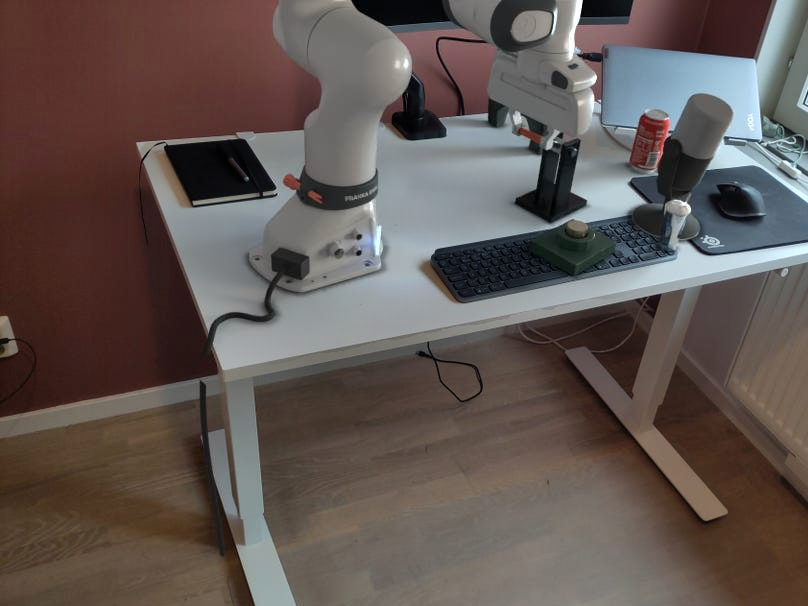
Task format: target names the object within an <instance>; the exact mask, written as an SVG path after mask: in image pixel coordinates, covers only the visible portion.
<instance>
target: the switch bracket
mask: <svg viewBox="0 0 808 606" xmlns="http://www.w3.org/2000/svg"><path fill="white" fill-rule="evenodd" d="M546 136H547V135H546ZM556 137H557V138H560V139H562V140H564V133H562V132H560V133H559V134H558V135H557V136H556ZM556 137H555V138H556ZM555 138H554V140H555ZM554 140H553V141H554ZM581 142H582V139H580V138H578V137H575V138H574V139H571V140H569V141H567V142H566V143H564V144H562V148H561V153H560V154H558V153H556V152H554V151H552V150H551V149H549V150H545V149H543V151H542V154H541V159H540V164H539V170H538V176H537V181H536V187H535V189H533V190H531V191H529V192H526V193H524V194H522V195H519V196H517V197H516V198H515V200H514V204H515V206H518V207H520V208H522V209H523V210H525V211H527V212H529V213H531V214H533V215H535V216H536V217H538V218H540V219H542V220H544V221H545V222H547V223H549V224H553V223H555V222H557V221H559V220H561V219H563V218H565V217H567V216H569V215H571V214H573V213H575V212H576V211H578V210H581V209H583V208H584V207H587V204H588V199H585V198H584V197H582V196H580V195H578V194H576V193H574V192H572V187H573V182H574V177H575V172H576V169H577V168H576V167H577V163H578V157H579V152H580V147H581Z"/></svg>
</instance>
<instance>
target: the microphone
mask: <svg viewBox="0 0 808 606" xmlns="http://www.w3.org/2000/svg"><path fill="white" fill-rule="evenodd" d="M734 119H735V111H734V109H733V108H732V107H731V106H730V104H729V103H728V102H726V100H723V99H722V98H720V97H719V96H715V95H713V94H709V93H704V92H699V93H694V94H692V95H690V97H688V99H687V101H686V104H685V106H684V108H683V110H682V111H681V114H680V116H679V118H678V120H677V122H676V124H675V127H674V129H673V130H672V133H671V134H670V135H669V136H667V138H666V140H665V141H664V147H663V153H662V156H661V158H660V160H659V162H658V166H657V169H656V173H657V178H656V181H655V182H656V188H657V193H658V194H659V195H660V196H663V197H664V202H663V203H658V202H657V203H656V202H653V203H652V202H651V203H645V204H641V205H639V206H637V207H635V208H634V209H633V211H632V214H631V220H632V222H633V224H634V225H635V226H636V228H638V229H639V230H640V231H642V232H643V233H645V234H647V235H649V236H651V237H654V238H657V239H659V236H660V231H661V226H662V221H663V215H664V209H665V204H666V203H667V202H669V201H671V200H680V201H681V199H682V198H685V197H688V195H689V193H690V194H691V193H692V191H693V189H694V188H696V187H697V186H698V185H699V184H700V183H701V181H702V179H703V177H704V176H705V173H706V172H707V170H708V168H709V166H710V165H711V162H712V161H713V160H714V158H715V156H716V153H717V152H718V149H719V148H720V145H721V144H722V142H723V140H724V139H725V136H726V134H727V132H728V131H729V129H730V127H731V125H732V123H733V121H734ZM700 229H701V225H700V222H699V220H698V219H697V218H696V217H695V216H694V215H693V214H692V213H690V214H689V216H688V219H687V221H686V223H685V226H684V228H683V231H682V233H681V236H680V238H679V241H678V242H684V241H689V240H691V239H694V238H695V237H697V236H698V234H699V233H700Z"/></svg>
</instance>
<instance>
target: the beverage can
mask: <svg viewBox="0 0 808 606" xmlns="http://www.w3.org/2000/svg"><path fill="white" fill-rule="evenodd" d="M669 117H670V114H669V113H668V112H667V111H665V110H662V109H658V108H648V109H645V110H644V113H642V115H640V117H639V120H638V123H637V126H636V127H637V129H636V131H635V136H634V140H633V144H632V148H631V153H630V157H629V163H630V165H631V167H632V168H633V170H635V171H636V172H639V173H645V174H650V173H653V172H654V171H657V166H658V162H659V160H660V158H661V156H662V154H663V147H664V141H665V140H666V138H667V137H668V135H669V131H670V127H671V121H670V118H669Z"/></svg>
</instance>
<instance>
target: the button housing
mask: <svg viewBox="0 0 808 606" xmlns="http://www.w3.org/2000/svg"><path fill="white" fill-rule="evenodd" d="M572 220H575V219H574V218H572V219H570V220H568V221H566V222H564V223H562V224H560V225H557V226H556V227H554V228H552V229H550V230H548V231H546V232H544V233H542V234H540V235H538V236H537V237H535V238H532V239H531V240H530V244H529V250H528V251H529V252H530V253H532V254H533V255H536V256H538V257H539V258H542V260H545V261H546V262H549V263H550V264H551V265H554V267H557V268H558V269H560V270H562V271H564V272H566V273H567V274H569V275H571V276H573V277H575V276H577V275H578V274H580V273H582V272H584V271H585V270H587V269H588V268H590V267H592V266H594V265H595V264H597V263H599V262H601V261H603V260H604V259H606V258H607V257H609V256H611V255H613V254H614V253H615V251H616V247H617V241H616V240H614V239H612V238H609V237H608V236H606V235H604V234H602V233H600V232H599V231H597V230H595V229H593V228H591V227H589V226H588V229H587V234H586V237H585V238H584V239H576V238H571V237H570V236H568V235H566V228H567V223H568V222H569V221H572Z"/></svg>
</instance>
